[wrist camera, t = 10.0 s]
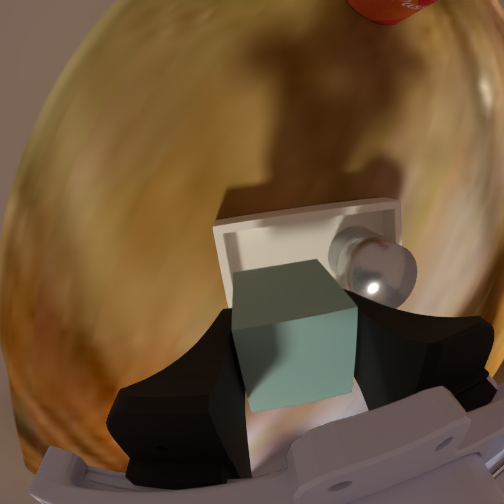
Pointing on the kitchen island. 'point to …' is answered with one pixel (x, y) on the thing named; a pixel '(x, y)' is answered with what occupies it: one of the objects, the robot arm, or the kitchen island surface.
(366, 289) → the silver metal cylinder
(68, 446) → the kitchen island surface
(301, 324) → the teal block
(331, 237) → the parts tray
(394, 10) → the paper cup
